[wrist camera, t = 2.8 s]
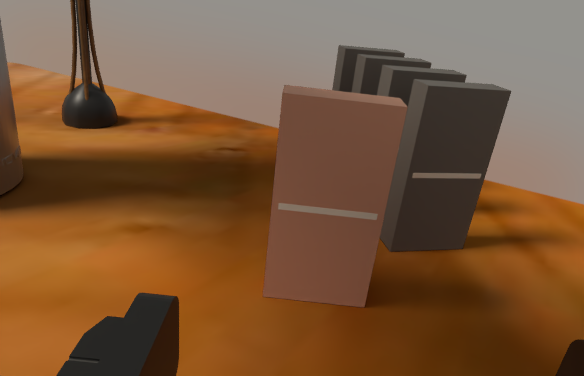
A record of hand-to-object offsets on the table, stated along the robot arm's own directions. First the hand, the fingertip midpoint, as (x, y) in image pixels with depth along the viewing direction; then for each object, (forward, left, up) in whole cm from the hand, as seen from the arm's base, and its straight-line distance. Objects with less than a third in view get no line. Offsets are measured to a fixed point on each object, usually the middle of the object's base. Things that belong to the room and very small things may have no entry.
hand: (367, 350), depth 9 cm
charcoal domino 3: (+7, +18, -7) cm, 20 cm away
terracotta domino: (0, +11, -7) cm, 14 cm away
